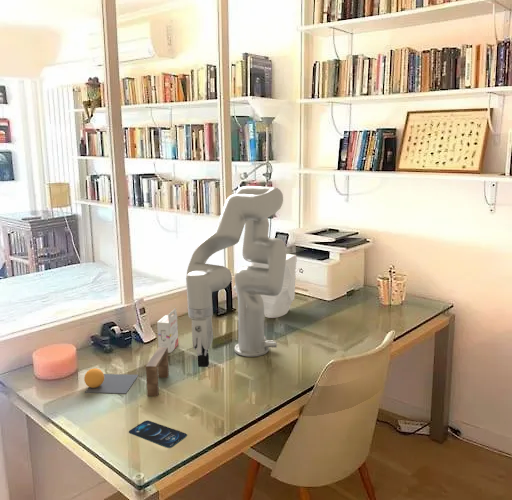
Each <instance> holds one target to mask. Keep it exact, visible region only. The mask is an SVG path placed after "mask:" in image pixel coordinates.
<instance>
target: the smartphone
mask: <svg viewBox="0 0 512 500" xmlns="http://www.w3.org/2000/svg"><path fill="white" fill-rule="evenodd" d="M128 434H131V435H133V436H136V437H138V438H140V439H144V440H145V441H148V442H151V443H153V444H157V445H159V446H161V447H164V448H167V449H171V448H173V447H174V446H176V445H177V444H179V443H180V442H182V440H184V439H185V438H186V437H187V436H188V434H187V433H186V432H183V431H180V430H178V429H175V428H172V427H169V426H165V425H162V424H160V423H157V422H154V421H151V420H144V421H142V422H141V423H139V424H137V425H135V426H134V427H133V428H131V429H129V431H128Z"/></svg>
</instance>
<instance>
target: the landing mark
mask: <svg viewBox="0 0 512 500" xmlns="http://www.w3.org/2000/svg"><path fill="white" fill-rule="evenodd" d="M103 374H104V381H103V383H102V384H101V385H100V386H99V387H96V388H91V387H89V386H87V388H86V390H85V391H84V393H86V394H87V393H89V394H90V393H91V394H92V393H94V394H118V395H119V394H123V395H126V394H127V393H128V392H129V390H130V389H131V387H132V385H133V384H134V383H135V381H136V380H137V378H138V376H139V374H124V373H123V374H120V373H119V374H118V373H117V374H116V373H115V374H114V373H103Z"/></svg>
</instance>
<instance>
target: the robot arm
mask: <svg viewBox="0 0 512 500" xmlns="http://www.w3.org/2000/svg"><path fill="white" fill-rule="evenodd" d="M283 204H284V194H283V192H282V191H281V189H279V188H278V187H275V186H274V187H273V186H258V185H244V186H240V187H238V189H236V191H235V194H234V193H233V194H231V195H229V196H228V197H227V198H226V200H225V203H224V205H223V208H222V210H221V213H220V216H219V219H218V221H217V224H216V228H215V230H214V232H213V233H212V234H210V235H209V236H208V237H207V238H205V239H204V240H203V241H202V242H201V243H200V244H199V245H198V246H197V247H196V248H195V250H194V251H193V253H192V255H191V258H190V260H189V264H188V265H187V269H186V277H185V283H186V299H187V312H188V313H187V314H188V318H189V319H191V335H192V336H191V337H192V348H193V349H194V351H195V350H196V351H197V367H200V368H208V367H209V365H210V359H209V357H210V356H209V350H210V348H211V345H212V343H213V340H214V333H213V332H214V331H213V322H212V321H213V320H212V317H213V316H214V309H213V305H214V304H213V293H214V292H218V291H222V290H224V289H226V288H227V287H228V286H229V285H230V284H231V281H232V278H233V277H232V272H231V270H230V269H229V268H228V267H226V266H223V265H219V264H209V263H207V262H208V259H210V257H212V255H215V253H217V252H220V251H222V250H225V249H227V248H230V247H233V246H235V245H237V244H238V243H239V242H240V239H241V236H242V233H243V232H244V235H243V242H242V243H243V244H242V258H243V259H244V260H245V261H246V262H249V263H251V262H253V263H261V264H268V265H269V268H261V267H253V266H250V265H245V266H241V267H239V268H238V269H237V270H236V272H235V275H234V286H236V290H237V293H236V294H237V318H238V319H237V325H238V333H237V335H238V340H237V341H238V343H237V344H235V346H234V353H236V354H237V355H240V356H243V357H250V358H251V357H253V358H254V357H260V356H263V355H265V354H267V353H269V350H270V348H275V349H276V348H277V342H275V341H274V339H273V340H272V339H271V340H269V339H267V338H266V335H265V316H264V302H263V299H262V297H261V295H267V296H277V295H278V294H279V293H280V292H281V290H282V287H283V281H284V272H285V264H286V254H287V245H286V244H285V242H284V241H283V239H281V238H277V237H276V238H275V237H269V231H270V230H269V228H270V222H269V219H268V218H269V217H271V216H273V215H274V214H276V213H277V212H279V210H280V209H281V208H282V206H283ZM243 230H244V231H243Z"/></svg>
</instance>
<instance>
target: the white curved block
mask: <svg viewBox="0 0 512 500" xmlns="http://www.w3.org/2000/svg"><path fill="white" fill-rule="evenodd" d="M249 266H253V267H261V268H269V265H268V264H261V263H253V262H250V264H249ZM296 269H297V254H290V253H286V264H285V272H284V281H283V287H282V290H281V292H280V293H279V294H278V295H277V296H267V295H261V297H262V299H263V302H264V318H265V317H266V318H269V319H275V318H279V317H283V316H285V315H287V314H288V312H289V310H290V309H291V308H290V307H291V305H292V303H293V301H295V296H296V295H295V293H296ZM232 289H233V291H234V292H235V294H237V290H236V286H235V285H234V286H233V288H232Z"/></svg>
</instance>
